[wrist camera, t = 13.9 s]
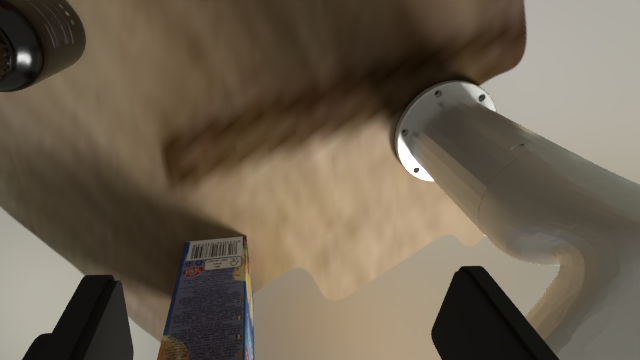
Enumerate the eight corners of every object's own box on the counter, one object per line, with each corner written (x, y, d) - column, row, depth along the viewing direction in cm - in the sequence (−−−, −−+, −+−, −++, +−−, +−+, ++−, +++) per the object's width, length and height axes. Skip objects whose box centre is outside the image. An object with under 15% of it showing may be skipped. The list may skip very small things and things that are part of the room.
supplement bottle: (43, 81, 33) (-50, 126, 23) (-22, 7, 30) (-167, 21, 19) (106, 48, 33) (41, 78, 22) (48, -31, 29) (-61, -38, 19)
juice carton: (185, 241, 44) (130, 466, 24) (246, 235, 46) (244, 445, 25) (199, 308, 50) (165, 536, 30) (253, 301, 51) (256, 516, 31)
